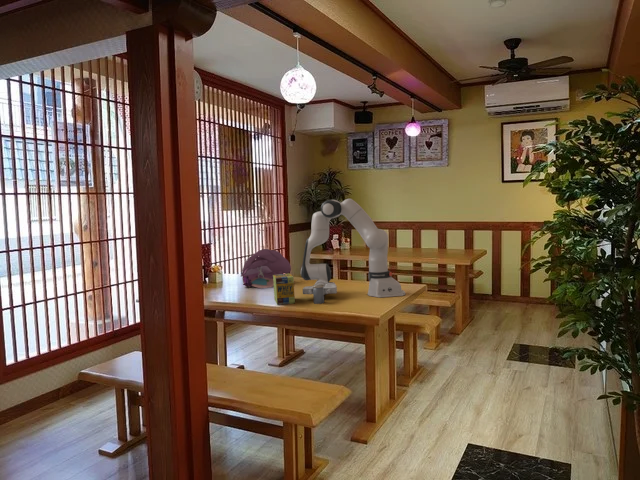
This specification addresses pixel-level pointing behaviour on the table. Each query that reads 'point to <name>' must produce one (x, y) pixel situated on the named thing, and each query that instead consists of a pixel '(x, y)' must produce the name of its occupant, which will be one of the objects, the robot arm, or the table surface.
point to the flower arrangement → (264, 268)
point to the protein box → (283, 289)
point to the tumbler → (318, 293)
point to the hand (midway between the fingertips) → (318, 292)
